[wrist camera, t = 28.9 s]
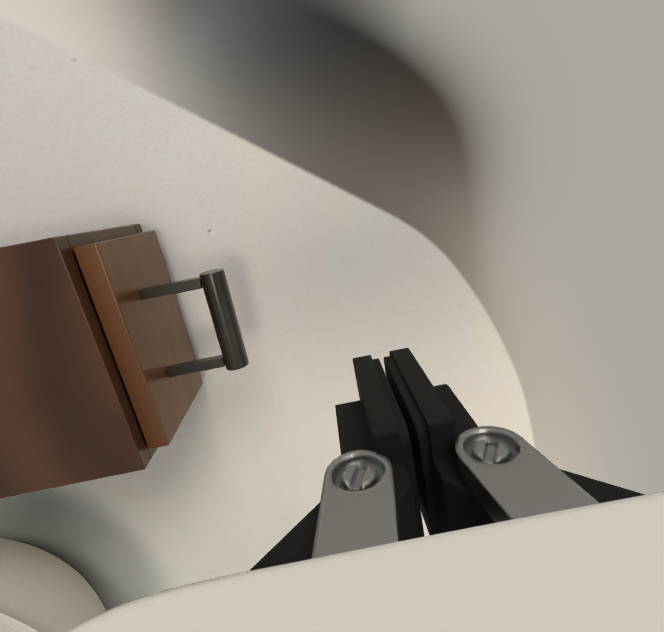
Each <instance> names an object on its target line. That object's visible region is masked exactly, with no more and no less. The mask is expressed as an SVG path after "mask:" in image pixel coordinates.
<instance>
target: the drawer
mask: <svg viewBox="0 0 664 632" xmlns="http://www.w3.org/2000/svg"><path fill="white" fill-rule="evenodd" d="M73 251H74V253H75V256H76V258H74V259H75V262H76V264H77V267H78V270H79V272H80V275H81V277H82V280H83V282H86V285H87V288H88V290H89V293H90V295H91V298H92V301H93V303H94V306H95V309H96V311H97V314H98V317H99V319H100V322H101V324H102V327H103V330H104V332H105V335H106V338H107V340H108V343H109V346H110V348H111V351H112V353H113V356H114V359H115V361H116V364H117V367H118V369H119V372H120V374H121V377H122V378H121V379H120V380H121V382H122V385H123V388H124V390H125V393H126V395H127V398H128V401H129V403H130V406H131V409H132V411H133V414H134V416H135V419H138V422H139V425H140V427H141V430H142V432H143V435H144V438H145V440H146V443H147V446H148V448H149V449H151V448H156V447H161V446H166V445H169V443H170V441H171V440H172V438H173V436H174V434H175V432H176V431H177V429H178V427H179V425H180V423H181V421H182V420H183V418H184V416H185V414H186V412H187V410H188V409H189V407H190V405H191V403H192V401H193V399H194V398H195V396H196V394H197V392H198V390H199V388H200V387H201V385H202V380H201V377H200V373H199V371H204V370H209V369H214V368H219V367H224V366H225V365H226V369H227V370H238V369H241V368H243V367H245V366H246V365H248V363H249V361H248V357H247V353H246V350H245V346H244V342H243V339H242V335H241V331H240V327H239V324H238V320H237V316H236V313H235V309H234V305H233V301H232V298H231V294H230V290H229V287H228V283H227V279H226V275H225V272H224V269H215V270H210V271H206V272H203V273H201V274H200V275H199V276H200V277H196V278H191V279H186V280H181V281H176V282H171V281H170V278H169V275H168V271H167V268H166V265H165V262H164V259H163V255H162V252H161V249H160V246H159V243H158V239H157V236H156V233H155V231H154V230H152V231H147V232H142V233H137V234H132V235H128V236H123V237H119V238H114V239H109V240H105V241H100V242H95V243H91V244H86V245H82V246H77V247H74V248H73ZM202 287H203V289H204V293H205V296H206V300H207V303H208V307H209V310H210V314H211V317H212V321H213V324H214V327H215V331H216V334H217V338H218V341H219V345H220V348H221V352H222V355H219V356H214V357H209V358H204V359H199V360H195V358H194V354H193V351H192V348H191V345H190V342H189V338H188V335H187V332H186V329H185V326H184V322H183V319H182V316H181V313H180V310H179V306H178V303H177V300H176V297H175V293H180V292H185V291H190V290H195V289H200V288H202Z"/></svg>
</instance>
